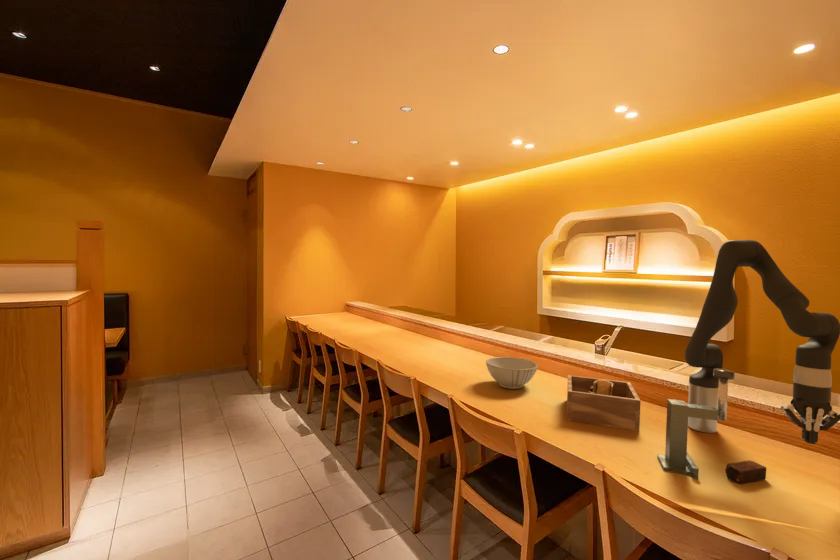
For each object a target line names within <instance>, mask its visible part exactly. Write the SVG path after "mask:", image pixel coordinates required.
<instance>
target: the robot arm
mask: <svg viewBox="0 0 840 560" xmlns="http://www.w3.org/2000/svg"><path fill="white" fill-rule="evenodd" d="M739 267H740V268H741V267H744V268H745V267H747V268H748V267H750V268H751V269H752V270H754V271H755V272H756V273H757V274H758V275H759V276H760V277H761V282H762V283H761V285H762V290H763V292H764V295H765V296H766V297H767V298H768V299H769V300H770V301H771V302H772V303H773V305H774V306H775V307H776V308H777V309H778V310H779V311H780V313H781V315H782V318H783V319H784V322H785V323H786V326H787V327H788V328H789V329H790V331H791V332H792V333H794V334H795V335H796V336H797V335H798V336H799V337H802V338H808V339H807V342H805V343H803V344H801V345H798V346H797V347H796V348H795V349H796V350H795V356H794V357H795V359H794V360H795V361H794V362H795V363H794V364H795V365H794V369H793V376H792V377H793V381H792V399H791V401H790V404H788V405H782V406H781V407H780V410H781V411H782V412H783V413H784V414H785V415H786V416H787V418H788V419H789V420H790V421H791V422H792V423H793V424H794V425H796V426H797V427H799V428H801V439H803V441H804V442H805V443H807V444H811V445H816V443H818V441H819V432H820V431H826V432H827V431H828V430H829V429H830V428H832V427H833V426H835V425H836V424H837V423H838V422H840V413H837V412H836V411H835V410H834V409H833V407H832V405H831V401H832V384H833V375H832V354H833V352H834V350H835V347H836V345H837V343H838V340H839V338H840V320H839V319H838V318H837V317H836V316H835V315H833V314H831V313H829V312H810V311H809V310H807V309H808V307H809V306H810V300H809V299H808V297H807V296H806V295H805V294H804V293H803V292H802V291H801V290H800V289H799V288H798V287H797V286H795V284H793V283H792V281H790V280H789V279H788V277H786V275H785V274H784V272H782V270H781V269H780V268H779V266H778V264H777V263H776V261H774V259H773V257H771V255H770V253H769V252H768V250H767V249H766V248H765V247H764V245H763V244H761V243H760V242H759V241H757V240H754V239H731V240H727V241H725V242H723V244H722V245H721V246H720V248H719V250H718V253H717V257H716V262H715V266H714V272H713V276H712V280H711V283H710V286H709V290H708V291H707V295H706V296H705V300H704V302H703V304H702V305H703V306H702V309H701V312H700V315H699V318H698V321H697V322H696V326H695V328H694V330H693V332H692V335H691V337H690V339H689V341H688V343H687V344H686V347H685V351H684V360H685V361H686V362H685V363H686V364H687V365H688V366H690V367H692V368H693V367H694V368H701V369H699V371H698V372H695V373H692V374H690V375H689V376H688V377H689V378H688V399H687V400H688V401H687V404H695V405H703V406H711V407H715V408H716V409H717V410H718V389H719V378H717V377H714V376H713V370H714V369H716V368H718V369H723V366H724V353H723V351H722V349H721V347H720V346H719V345H717V344H716V343H715V344H714V343H709V342H710V341H711V339H712V338H713V337H714V336H715V335H716V334H718V333H719V332H720V331H721V330H723V329H724V328H725V327H726V326H727V325H728V324H729V323H730V322H731V321H732V320H733V318H734V315H735V312H736V310H737V307H738V303H739V300H738V296H737V292H736V290H735V288H734V277H735V274H736V271H737V270H738V268H739ZM795 412H796V413H798V415H799V418H798V417H797V415H795ZM688 428H690V429H692V430H694V431H698V432H702V433H707V434H715V433H717V430H718V421H717V420H709V419H702V418H695V417H688Z"/></svg>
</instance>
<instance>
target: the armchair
mask: <svg viewBox="0 0 840 560" xmlns="http://www.w3.org/2000/svg"><path fill="white" fill-rule="evenodd" d="M606 380H607V379H606ZM606 380H596V381H595V382H594V383H593V386H591V387H590V391H589V392H588V393H593V394H601V395H608V396H612V393H613V383H612V382H609V381H606Z"/></svg>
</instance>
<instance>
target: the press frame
mask: <svg viewBox="0 0 840 560" xmlns="http://www.w3.org/2000/svg"><path fill="white" fill-rule="evenodd" d="M666 403H667V404H666V422H665V423H666V424H665V425H666V426H665V428H666V429H665V448H664V449H665V450H664V451H665V452H664V453H665V454H658V453H657V455H656V456H657V459H658V461H659V464H660V466H661V467H662V470H663V471H665V472H671V473H676V474H682V475H686V476H691V478H692V479H696V480H697V479H699V467H698V466H697V464H696V463H695V462H694V460H693V459H692V456H691V455H690V454H689V452H688V432H689V429H688V428H689V427H688V417H695V418H702V419H709V420H717V422H718V421H719V419H718V410H717V409H716V408H715V407H711V406H703V405H695V404H688V402H686V401H684V400H678V399H671V398H667V402H666Z"/></svg>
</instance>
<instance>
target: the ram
mask: <svg viewBox="0 0 840 560" xmlns="http://www.w3.org/2000/svg"><path fill="white" fill-rule="evenodd" d="M735 372H736V371H734V370H731V369H726V368H722V369H718V368H716V369H714V370H713V376H714V377H717V378H719V389H718V421H722V422H723V421H724V422H726V421H727V417H728V416H727V413H728V412H727V411H728V395H729V394H728V391H729V380H731V381H733V380H735V374H736V373H735Z"/></svg>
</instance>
